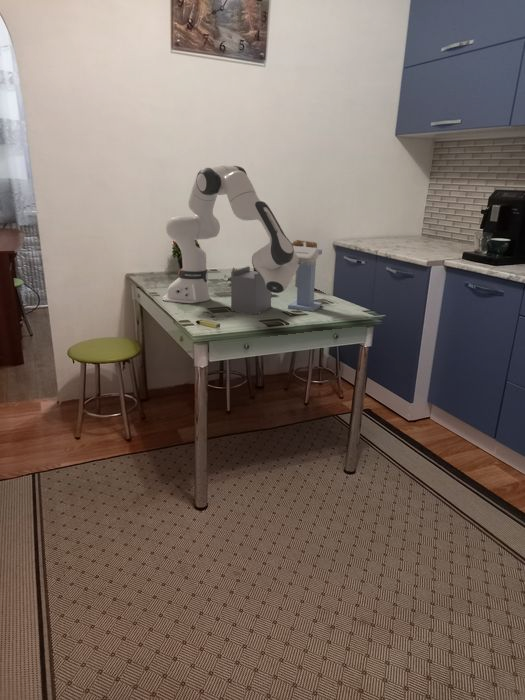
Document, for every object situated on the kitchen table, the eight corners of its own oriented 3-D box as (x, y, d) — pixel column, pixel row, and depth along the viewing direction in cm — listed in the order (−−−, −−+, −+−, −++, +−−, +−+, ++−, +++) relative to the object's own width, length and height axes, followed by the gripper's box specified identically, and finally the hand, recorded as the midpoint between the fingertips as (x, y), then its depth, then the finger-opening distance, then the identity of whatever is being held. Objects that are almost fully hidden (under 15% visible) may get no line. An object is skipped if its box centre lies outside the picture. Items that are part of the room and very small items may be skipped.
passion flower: (243, 294, 278) (251, 279, 270) (225, 292, 273) (233, 277, 264) (238, 280, 284) (246, 264, 276) (220, 278, 279) (228, 262, 271)
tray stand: (255, 314, 217) (256, 274, 212) (231, 311, 222) (231, 271, 216) (270, 306, 231) (271, 268, 225) (247, 303, 236) (247, 266, 230)
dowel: (300, 247, 210) (300, 240, 209) (293, 247, 211) (294, 239, 211) (316, 249, 230) (317, 242, 229) (310, 248, 231) (311, 242, 230)
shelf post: (313, 311, 224) (316, 250, 215) (287, 308, 229) (290, 248, 220) (321, 305, 234) (325, 247, 226) (297, 302, 239) (299, 245, 230)
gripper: (311, 258, 199) (322, 238, 207) (264, 254, 207) (276, 234, 215) (313, 271, 203) (324, 250, 211) (267, 266, 211) (279, 246, 219)
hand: (299, 242), depth 213 cm, fingers closed on dowel, 3 cm apart
